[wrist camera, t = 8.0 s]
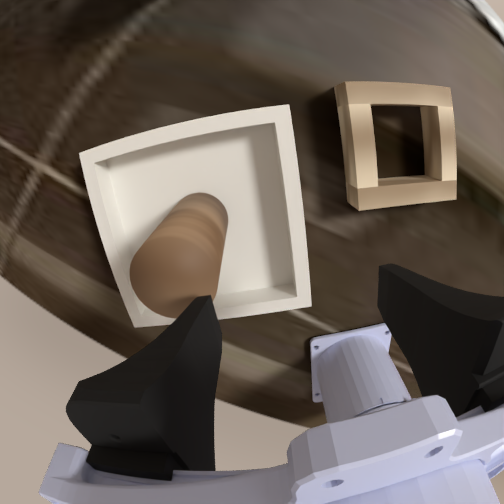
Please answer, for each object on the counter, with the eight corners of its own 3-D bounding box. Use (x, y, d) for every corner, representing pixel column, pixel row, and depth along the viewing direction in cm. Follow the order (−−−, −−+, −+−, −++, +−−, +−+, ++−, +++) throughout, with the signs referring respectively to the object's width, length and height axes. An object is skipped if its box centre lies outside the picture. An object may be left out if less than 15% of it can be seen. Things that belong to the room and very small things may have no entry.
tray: (305, 289, 24) (311, 306, 21) (143, 310, 24) (134, 327, 22) (284, 107, 18) (288, 104, 16) (95, 149, 19) (79, 153, 17)
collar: (438, 191, 21) (456, 199, 18) (347, 201, 21) (358, 210, 19) (432, 89, 17) (450, 87, 15) (333, 86, 18) (345, 81, 15)
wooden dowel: (232, 242, 22) (224, 314, 13) (178, 249, 22) (143, 321, 13) (223, 188, 20) (208, 231, 12) (167, 197, 20) (118, 244, 12)
